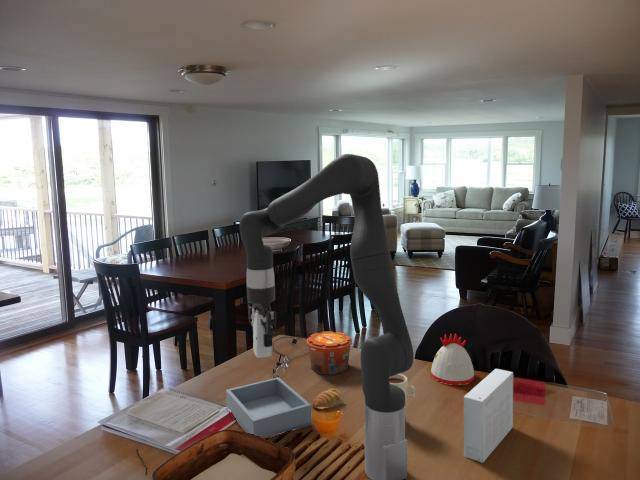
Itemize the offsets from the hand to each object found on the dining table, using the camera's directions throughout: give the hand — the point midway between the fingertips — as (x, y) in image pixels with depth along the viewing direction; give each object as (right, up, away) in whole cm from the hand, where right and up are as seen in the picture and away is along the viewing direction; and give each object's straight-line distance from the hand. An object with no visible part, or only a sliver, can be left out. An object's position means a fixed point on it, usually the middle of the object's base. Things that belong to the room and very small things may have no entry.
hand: (262, 342), depth 143 cm
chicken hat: (+60, -18, +30) cm, 69 cm away
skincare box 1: (0, -3, +1) cm, 4 cm away
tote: (+1, -22, +5) cm, 23 cm away
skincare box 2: (+59, -24, -9) cm, 65 cm away
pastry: (+18, -21, +12) cm, 31 cm away
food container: (+19, -17, +39) cm, 46 cm away
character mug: (+36, -23, +1) cm, 43 cm away
